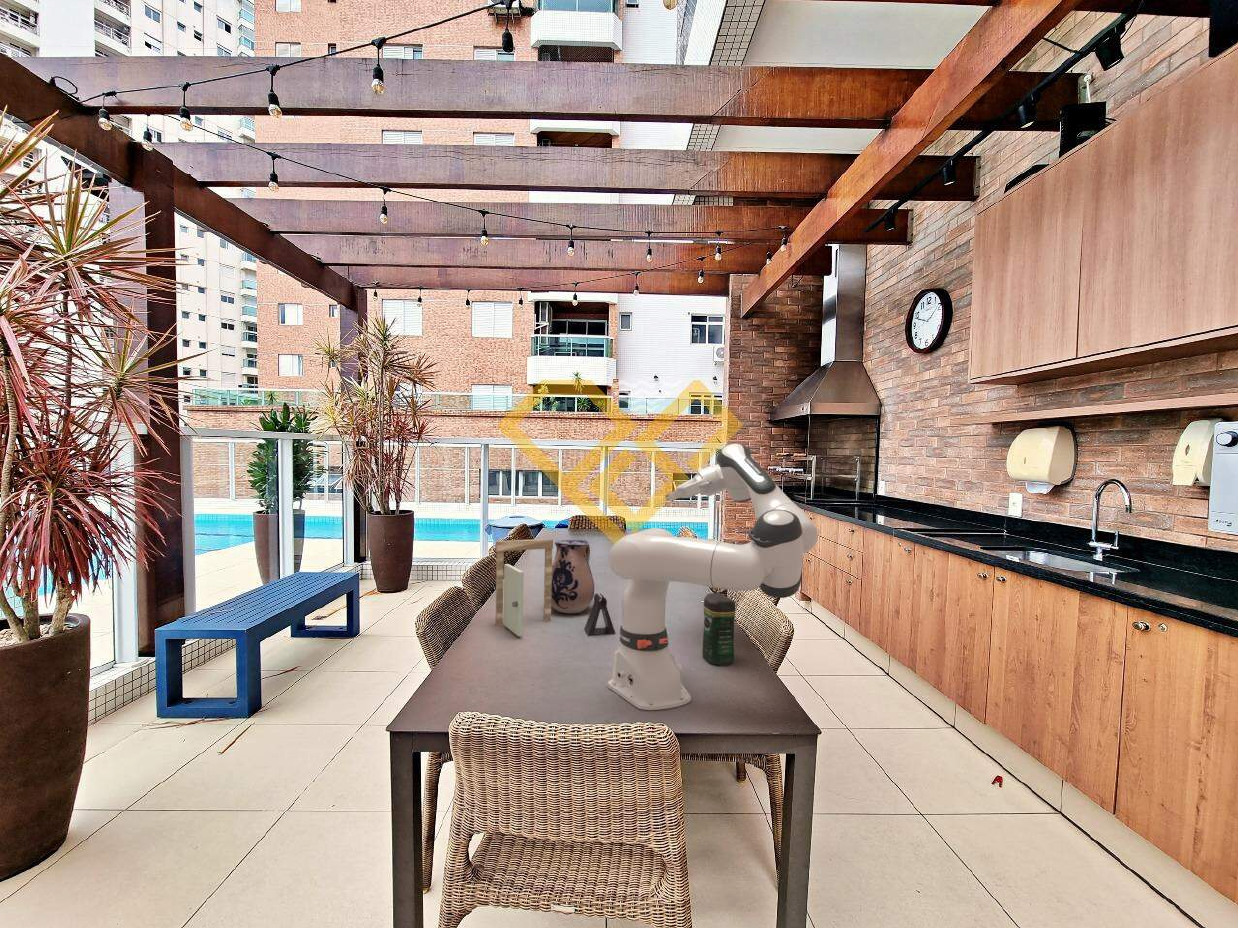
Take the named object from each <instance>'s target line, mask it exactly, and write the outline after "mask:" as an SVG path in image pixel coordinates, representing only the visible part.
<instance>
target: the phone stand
mask: <svg viewBox="0 0 1238 928" xmlns="http://www.w3.org/2000/svg"><path fill="white" fill-rule="evenodd" d="M607 605H608V601H607V598H606V597H605V596H604V595H603V594H602V593H601V592H599V593H594V596H593V604H592V607H591V609H590V612H589V615H588V618H587V621H586V624H585V626H584V631H585V633H586V634H587V636H588V637H593V636H606V635H607V636H608V635H609V636H610V635H616V631H615V628H614V623H613V621H612V618H611V616H610V613H609V610H608V606H607ZM600 612H601V613H602V618H603V622H604V626H605V627H597V624H598V620H599V615H600Z"/></svg>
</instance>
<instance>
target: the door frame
mask: <svg viewBox="0 0 1238 928" xmlns="http://www.w3.org/2000/svg"><path fill="white" fill-rule="evenodd" d="M553 549H554V539H552V538H537V539H536V538H535V539H534V538H533V539H515V540H514V539H513V540H496V541H495V551H496V557H495V558H496V562H495V564H496V565H495V568H496V569H495V573H496V575H495V626H496V627H502V626H504V625H503V618H504V559H505V557H504V552H509V551H510V552H512V551H513V552H514V551H530V550H531V551H533V550H544V579H543V580H544V587H543V588H544V589H543V621H544V620H545V621H544V622H551V621H552V605H551V588H552V564H553Z"/></svg>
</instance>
